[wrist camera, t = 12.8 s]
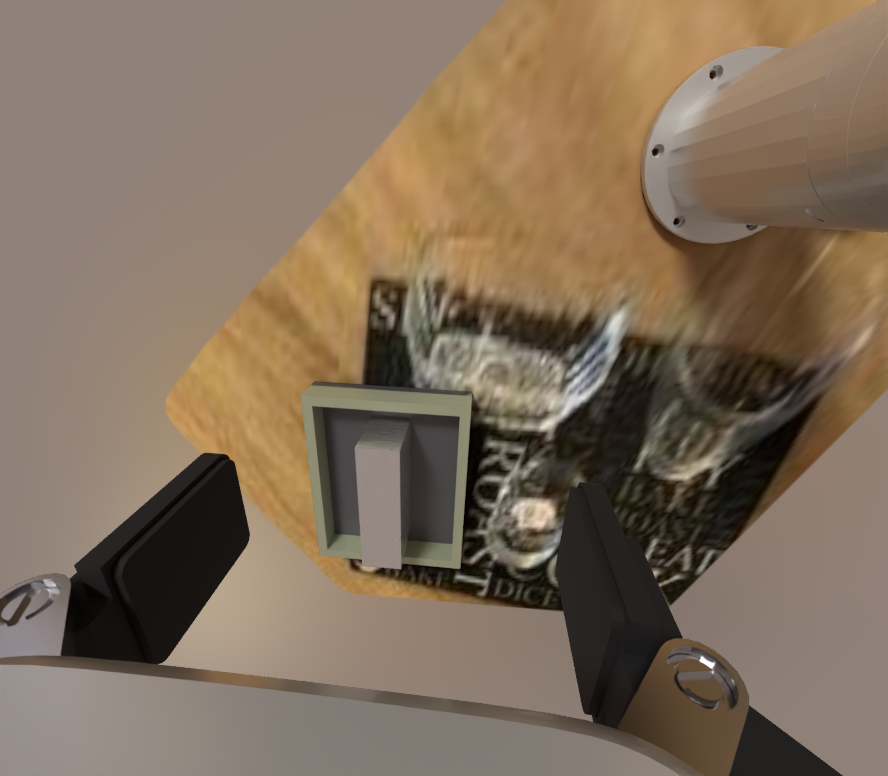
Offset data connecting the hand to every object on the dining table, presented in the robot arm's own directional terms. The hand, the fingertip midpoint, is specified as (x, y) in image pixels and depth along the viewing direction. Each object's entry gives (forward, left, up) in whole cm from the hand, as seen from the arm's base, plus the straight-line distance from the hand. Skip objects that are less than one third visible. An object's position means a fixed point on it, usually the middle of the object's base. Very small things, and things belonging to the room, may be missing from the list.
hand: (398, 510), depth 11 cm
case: (+6, +19, -28) cm, 34 cm away
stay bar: (+6, +19, -27) cm, 34 cm away
